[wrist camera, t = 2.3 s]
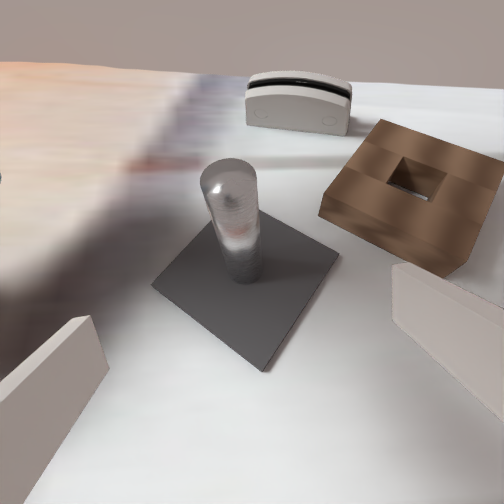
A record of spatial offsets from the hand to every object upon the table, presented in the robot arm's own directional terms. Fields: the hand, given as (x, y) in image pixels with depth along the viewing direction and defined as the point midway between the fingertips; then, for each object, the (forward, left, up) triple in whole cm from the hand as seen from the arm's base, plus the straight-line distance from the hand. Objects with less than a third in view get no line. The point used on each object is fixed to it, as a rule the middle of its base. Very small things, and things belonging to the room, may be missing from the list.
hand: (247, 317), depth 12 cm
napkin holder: (-17, +33, -19) cm, 42 cm away
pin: (-8, +8, -17) cm, 20 cm away
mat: (-8, +8, -18) cm, 21 cm away
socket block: (+3, +28, -18) cm, 33 cm away
